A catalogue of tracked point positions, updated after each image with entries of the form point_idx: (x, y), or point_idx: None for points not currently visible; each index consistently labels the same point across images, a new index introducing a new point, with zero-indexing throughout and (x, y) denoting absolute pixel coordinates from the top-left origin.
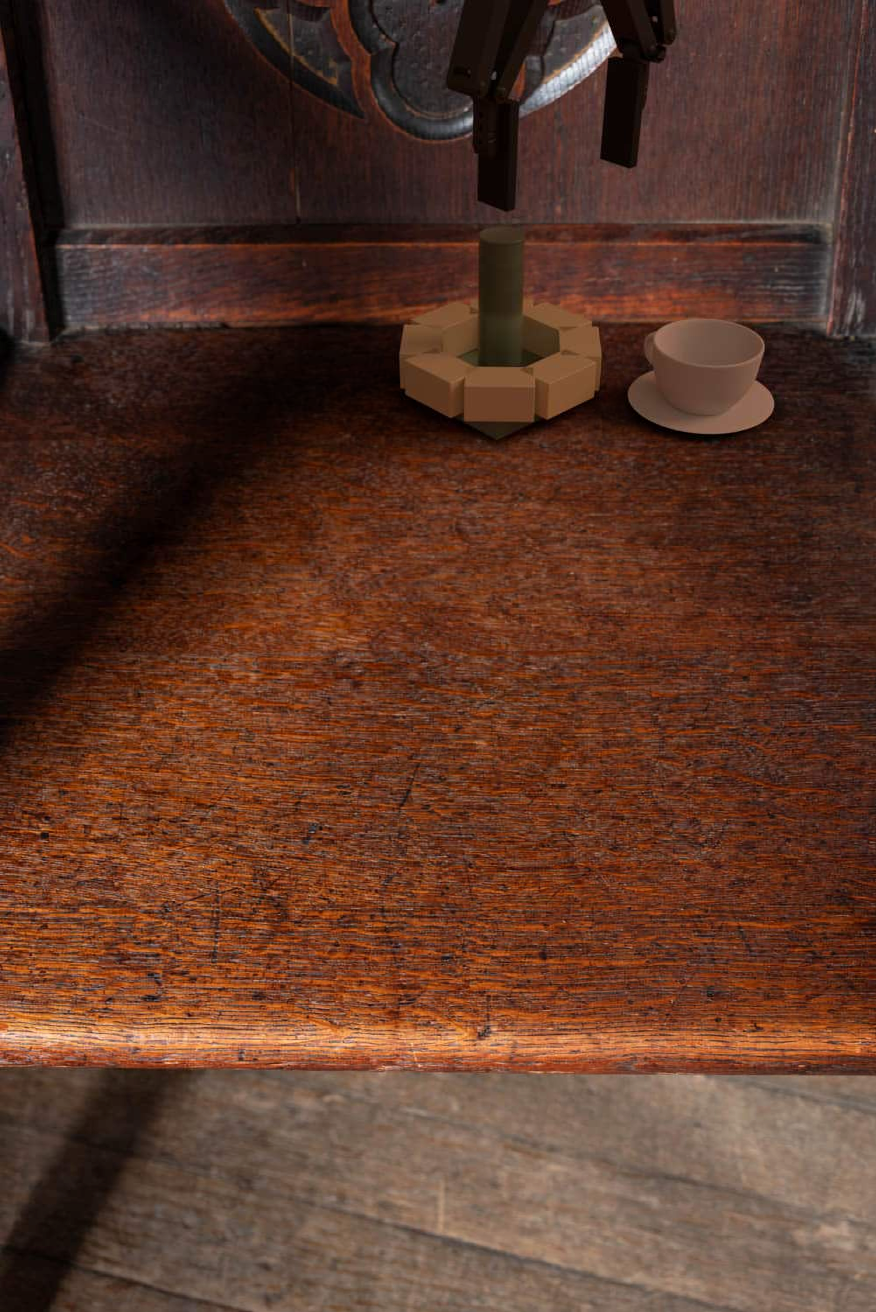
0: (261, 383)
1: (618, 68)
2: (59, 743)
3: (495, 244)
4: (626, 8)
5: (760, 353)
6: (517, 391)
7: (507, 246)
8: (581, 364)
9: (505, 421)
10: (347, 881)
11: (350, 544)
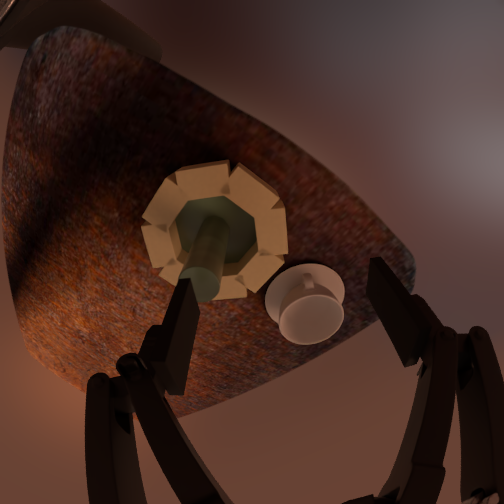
0: (100, 128)
1: (411, 337)
2: (21, 311)
3: None
4: (406, 430)
5: (320, 341)
6: None
7: None
8: (236, 294)
9: None
10: (75, 374)
11: (92, 292)
